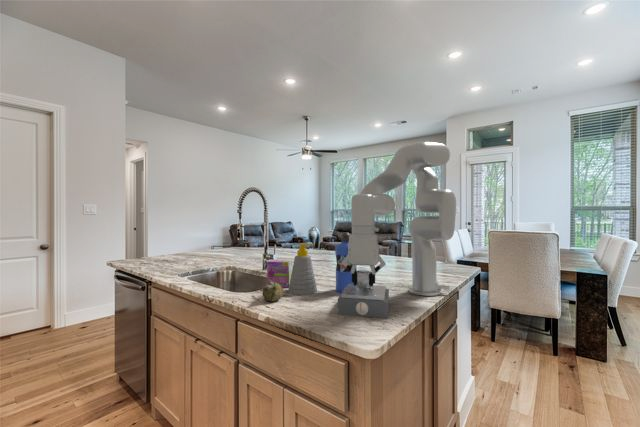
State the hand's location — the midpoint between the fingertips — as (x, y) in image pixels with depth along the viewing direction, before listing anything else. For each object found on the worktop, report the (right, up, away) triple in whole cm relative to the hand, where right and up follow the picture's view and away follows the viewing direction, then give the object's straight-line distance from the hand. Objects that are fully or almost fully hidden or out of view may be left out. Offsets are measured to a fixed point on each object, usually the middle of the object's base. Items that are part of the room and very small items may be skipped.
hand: (363, 284), depth 96 cm
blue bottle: (-3, -9, +27) cm, 28 cm away
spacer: (0, -1, 0) cm, 1 cm away
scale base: (+1, -9, +4) cm, 10 cm away
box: (-33, -10, +36) cm, 49 cm away
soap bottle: (-22, -10, +26) cm, 36 cm away
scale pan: (+1, -4, +4) cm, 6 cm away
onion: (-33, -10, +14) cm, 37 cm away
